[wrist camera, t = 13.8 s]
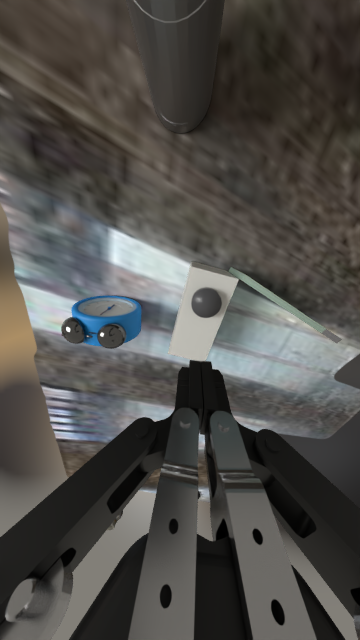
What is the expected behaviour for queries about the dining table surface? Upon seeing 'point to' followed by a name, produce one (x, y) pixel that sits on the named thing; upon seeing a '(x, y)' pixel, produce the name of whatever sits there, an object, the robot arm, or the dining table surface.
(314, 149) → the dining table surface
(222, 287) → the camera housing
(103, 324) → the alarm clock
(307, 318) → the side door
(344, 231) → the dining table surface
